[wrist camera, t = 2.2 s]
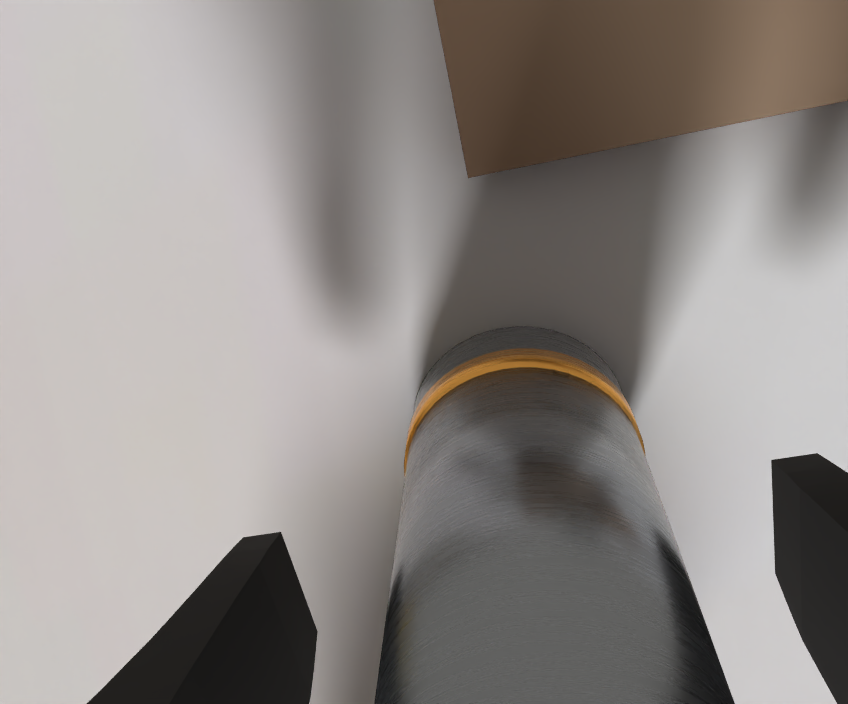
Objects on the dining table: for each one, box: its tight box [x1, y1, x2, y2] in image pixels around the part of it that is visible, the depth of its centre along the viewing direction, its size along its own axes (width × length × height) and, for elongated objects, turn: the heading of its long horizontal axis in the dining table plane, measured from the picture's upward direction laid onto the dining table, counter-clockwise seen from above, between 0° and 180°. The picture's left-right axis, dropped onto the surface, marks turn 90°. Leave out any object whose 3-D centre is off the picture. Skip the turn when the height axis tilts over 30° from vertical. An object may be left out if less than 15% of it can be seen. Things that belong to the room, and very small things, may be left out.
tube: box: [375, 327, 735, 704], centre depth 11 cm, size 4×4×8 cm
